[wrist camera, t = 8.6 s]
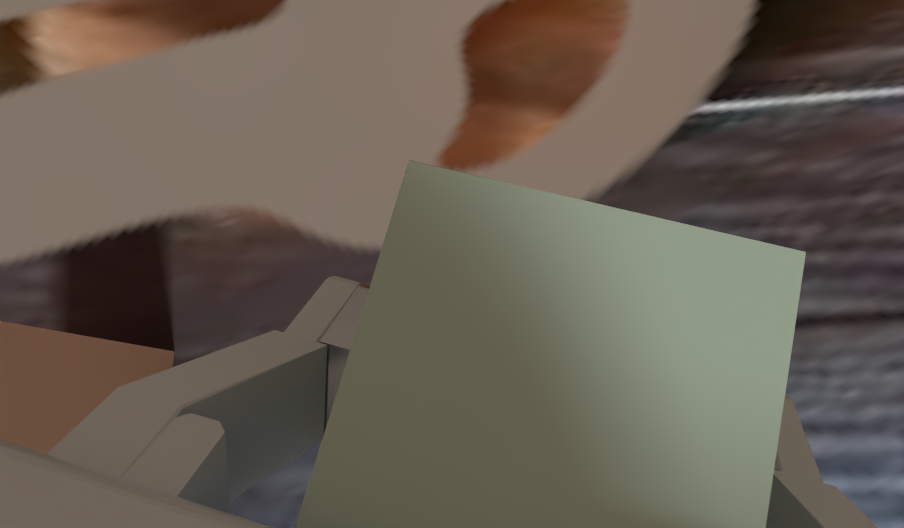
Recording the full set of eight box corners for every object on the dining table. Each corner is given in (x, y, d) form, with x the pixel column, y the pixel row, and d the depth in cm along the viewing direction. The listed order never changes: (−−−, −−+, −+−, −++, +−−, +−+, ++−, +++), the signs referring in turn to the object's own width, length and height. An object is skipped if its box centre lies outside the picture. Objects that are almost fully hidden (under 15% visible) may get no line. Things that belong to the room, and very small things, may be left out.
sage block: (413, 464, 14) (284, 559, 5) (457, 305, 15) (408, 159, 6) (578, 514, 13) (739, 711, 5) (614, 346, 14) (806, 251, 6)
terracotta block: (66, 450, 24) (-180, 476, 15) (82, 350, 25) (-140, 321, 16) (162, 451, 23) (-30, 479, 15) (174, 351, 24) (0, 321, 16)
